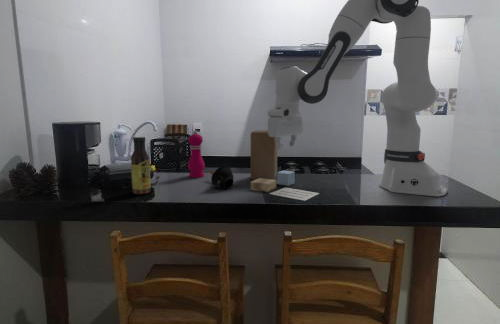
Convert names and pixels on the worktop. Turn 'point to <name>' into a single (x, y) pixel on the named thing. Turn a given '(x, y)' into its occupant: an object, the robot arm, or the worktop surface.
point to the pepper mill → (196, 156)
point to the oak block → (263, 184)
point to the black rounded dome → (222, 177)
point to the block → (263, 155)
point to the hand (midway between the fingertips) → (285, 147)
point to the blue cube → (285, 177)
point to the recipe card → (294, 193)
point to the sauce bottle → (140, 167)
